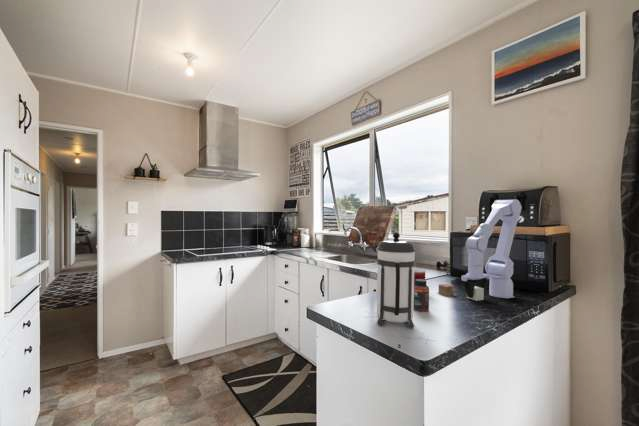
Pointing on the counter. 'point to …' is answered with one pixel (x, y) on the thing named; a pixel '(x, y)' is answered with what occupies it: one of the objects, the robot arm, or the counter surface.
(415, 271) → the canned food
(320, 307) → the counter surface
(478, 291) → the sage block
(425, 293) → the supplement bottle
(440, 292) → the walnut block
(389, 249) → the coffee press
